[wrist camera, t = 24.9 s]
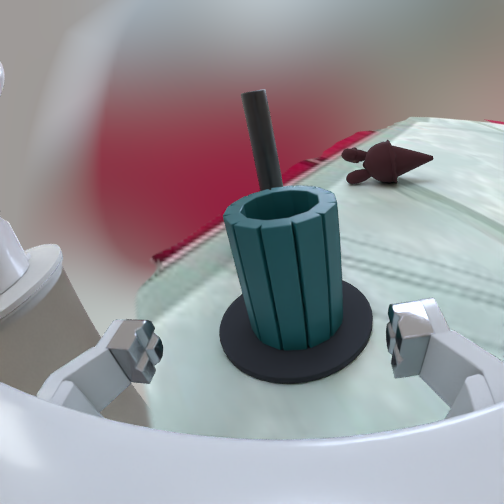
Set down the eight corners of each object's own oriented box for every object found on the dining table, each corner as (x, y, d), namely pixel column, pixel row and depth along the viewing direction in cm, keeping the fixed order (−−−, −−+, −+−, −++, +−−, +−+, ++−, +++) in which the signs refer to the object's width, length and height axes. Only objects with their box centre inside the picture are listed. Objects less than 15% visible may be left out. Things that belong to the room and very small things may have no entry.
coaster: (205, 383, 18) (202, 378, 18) (235, 284, 27) (234, 279, 27) (384, 375, 16) (385, 369, 15) (360, 273, 25) (360, 267, 25)
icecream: (424, 137, 42) (341, 147, 48) (434, 133, 36) (337, 144, 41) (431, 178, 44) (348, 187, 50) (442, 180, 37) (346, 190, 43)
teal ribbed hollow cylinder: (245, 352, 19) (211, 234, 15) (258, 293, 25) (235, 193, 21) (346, 346, 18) (343, 219, 14) (338, 286, 23) (330, 180, 19)
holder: (227, 265, 31) (187, 104, 23) (243, 224, 39) (216, 100, 32) (328, 255, 29) (305, 81, 21) (322, 215, 37) (303, 85, 30)
